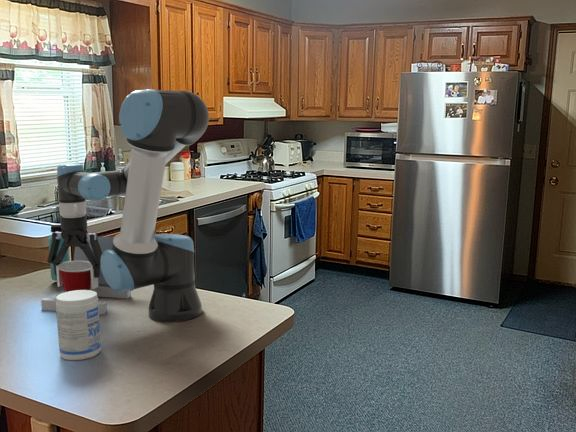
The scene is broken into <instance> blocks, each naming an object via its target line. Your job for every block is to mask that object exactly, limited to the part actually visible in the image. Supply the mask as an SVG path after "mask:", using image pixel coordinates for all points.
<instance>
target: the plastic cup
mask: <svg viewBox="0 0 576 432" xmlns="http://www.w3.org/2000/svg"><path fill="white" fill-rule="evenodd" d="M91 267H93V266H92V265H91V263H90V262H88V261H74V260H69V261H68V262H64V263H61V264H59V265H58V269H59V271H60V273H61V277H62V281H63V285H62V286H63V288H64V293H65V292H69V291H75V290H90V285H91V271H90V268H91Z"/></svg>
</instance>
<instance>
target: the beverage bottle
mask: <svg viewBox="0 0 576 432" xmlns="http://www.w3.org/2000/svg"><path fill="white" fill-rule="evenodd" d="M57 231H59V232H62V229H61V224H53V225H51V226H50V233H54V232H57ZM47 241H48V250H49V251H48V253H49V252H50V248H51V244H52V234H51V235H50V236H49V237H48V239H47ZM63 241H64V239H63V238H62V237H61V239H60V244H59V248H58V252H59V250H60V249H61V247H62V246H61V245H62V243H63ZM58 252H57V254H58ZM70 259H71V258H70V247H69V248H68V250H67V252H66V254H65V256H64V258H63V260H62V261H61V262H62V263H64V262H68V261H71V260H70ZM60 264H61V263H60ZM49 269H50V270H49V271H50V272H49V273H50V278H51V280H52V281H56V282H57V275H55V273H54V265H53V264H52V263H49Z"/></svg>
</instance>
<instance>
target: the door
mask: <svg viewBox="0 0 576 432" xmlns="http://www.w3.org/2000/svg"><path fill="white" fill-rule="evenodd" d="M114 237H115V236H98V242H99V245H100V248H101V251H102V253H103V252H104V251H106V250H107V249H110V250H111V249H112V243H113V238H114ZM88 239H89V238H87V239H86V240H87V241H88V243H89V246H90V248H91V249H92V247H91V244H90V240H88ZM83 245H84V244H83ZM92 251H93V249H92ZM93 253H94V252H93ZM73 254H74V255H73V261H88V262H90V261H89V260H88V258H87V257H86V255H85V254H84V252H83V250H82V249H80V247H75V246H74V253H73ZM90 286H91V285H90ZM98 286H103V287H110V286H109V285H108V283H107V282H106V280H105V278H104V276H103V273H102V270H101V266H100V277H98Z"/></svg>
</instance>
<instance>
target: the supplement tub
mask: <svg viewBox="0 0 576 432" xmlns="http://www.w3.org/2000/svg"><path fill="white" fill-rule="evenodd" d="M55 297H56V298H55V299H56V311H55V313H56V322H57V335H58V347H59V348H58V349H59V355H60V356H61V358H62V359H64V360H68V361H81V360H87V359H90V358H93V357H95V356H97V355H98V354H99V353H100V352H101V349H102V342H101V341H102V339H101V326H100V314H99V305H98V302H99V297H98V296H97V293H96V292H95V291H91V290H75V291H69V292H65V291H64V292H62V293H60V294H58V295H57V296H55Z"/></svg>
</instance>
